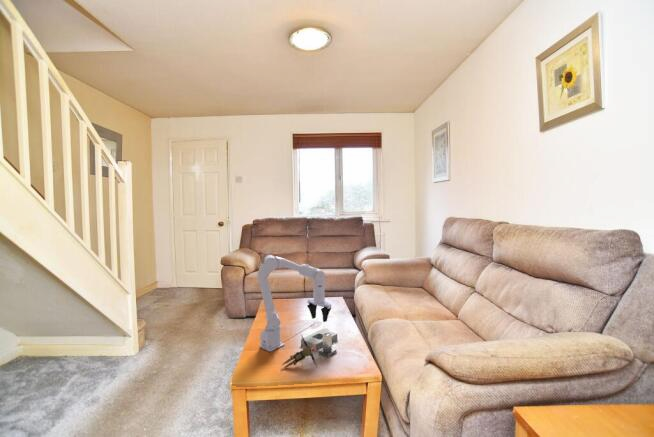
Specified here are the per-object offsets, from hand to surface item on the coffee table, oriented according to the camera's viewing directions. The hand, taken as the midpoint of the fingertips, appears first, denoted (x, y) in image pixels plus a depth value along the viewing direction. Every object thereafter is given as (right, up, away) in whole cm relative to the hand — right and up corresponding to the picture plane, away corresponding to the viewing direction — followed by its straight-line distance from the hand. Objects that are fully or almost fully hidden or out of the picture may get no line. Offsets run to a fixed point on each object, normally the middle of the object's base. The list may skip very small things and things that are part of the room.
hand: (319, 319), depth 153 cm
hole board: (0, -10, -3) cm, 11 cm away
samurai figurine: (-9, -11, -24) cm, 28 cm away
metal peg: (+4, -9, -14) cm, 17 cm away
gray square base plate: (+4, -11, -14) cm, 18 cm away
